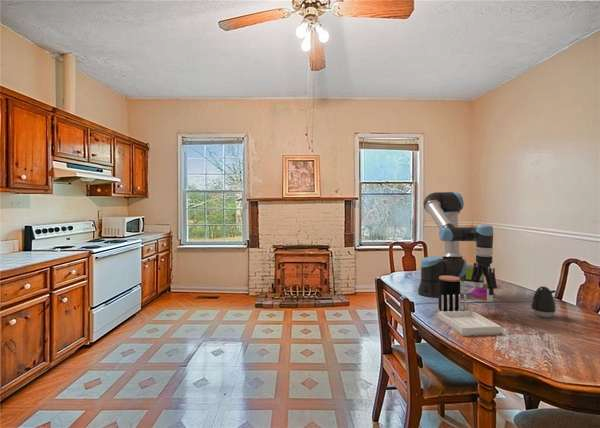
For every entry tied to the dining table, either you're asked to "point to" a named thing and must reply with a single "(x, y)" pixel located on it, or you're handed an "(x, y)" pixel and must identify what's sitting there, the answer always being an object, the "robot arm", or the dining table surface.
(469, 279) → the tea box
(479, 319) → the tray
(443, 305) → the rack tines
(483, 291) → the donut
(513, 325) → the dining table surface
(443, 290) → the coffee jar
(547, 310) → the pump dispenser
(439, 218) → the robot arm
